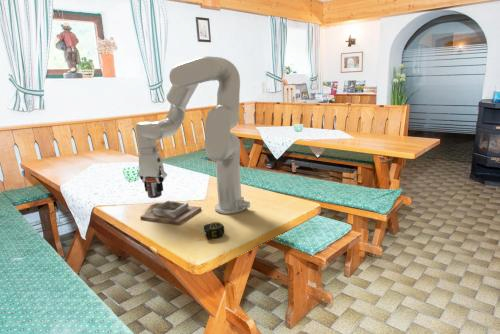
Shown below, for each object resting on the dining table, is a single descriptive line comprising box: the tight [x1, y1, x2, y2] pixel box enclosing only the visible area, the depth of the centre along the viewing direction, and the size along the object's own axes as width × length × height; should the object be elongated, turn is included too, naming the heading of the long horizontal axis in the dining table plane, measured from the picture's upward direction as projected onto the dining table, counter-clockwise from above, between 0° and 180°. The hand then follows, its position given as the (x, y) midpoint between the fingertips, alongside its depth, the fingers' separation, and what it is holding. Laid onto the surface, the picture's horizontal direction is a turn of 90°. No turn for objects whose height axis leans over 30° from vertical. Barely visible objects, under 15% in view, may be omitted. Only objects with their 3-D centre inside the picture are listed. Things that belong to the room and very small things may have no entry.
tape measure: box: [203, 222, 225, 239], centre depth 122 cm, size 7×7×4 cm
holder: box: [139, 200, 202, 226], centre depth 142 cm, size 18×16×4 cm
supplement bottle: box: [146, 176, 163, 199], centre depth 155 cm, size 6×6×11 cm
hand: (154, 190), depth 155 cm, fingers closed on supplement bottle, 6 cm apart
